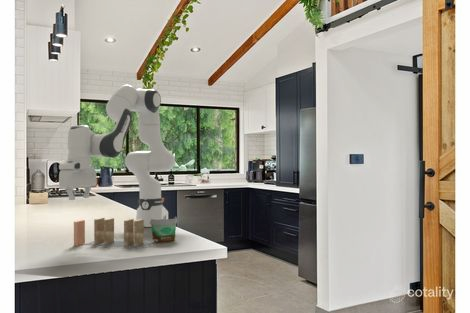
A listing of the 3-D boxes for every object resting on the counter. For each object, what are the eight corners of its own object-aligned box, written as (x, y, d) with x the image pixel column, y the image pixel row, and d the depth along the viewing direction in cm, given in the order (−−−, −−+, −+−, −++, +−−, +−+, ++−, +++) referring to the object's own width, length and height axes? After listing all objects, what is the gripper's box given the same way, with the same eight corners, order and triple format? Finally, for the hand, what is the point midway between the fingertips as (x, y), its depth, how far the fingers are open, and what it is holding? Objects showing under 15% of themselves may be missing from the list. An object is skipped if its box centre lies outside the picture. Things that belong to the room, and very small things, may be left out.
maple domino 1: (94, 243, 169) (94, 219, 169) (101, 241, 174) (101, 217, 174) (97, 244, 168) (97, 219, 168) (104, 241, 173) (104, 217, 173)
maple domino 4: (134, 246, 164) (134, 221, 164) (140, 243, 169) (140, 219, 169) (137, 246, 164) (137, 221, 164) (143, 243, 169) (143, 219, 169)
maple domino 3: (124, 245, 165) (123, 220, 165) (130, 242, 170) (130, 218, 170) (127, 245, 165) (127, 220, 165) (133, 243, 170) (133, 218, 170)
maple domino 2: (104, 244, 168) (104, 219, 168) (110, 241, 173) (110, 218, 173) (107, 244, 167) (107, 219, 167) (114, 242, 172) (114, 218, 172)
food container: (156, 245, 167) (156, 220, 167) (149, 243, 172) (149, 219, 172) (183, 241, 174) (183, 218, 174) (176, 239, 179) (176, 216, 179)
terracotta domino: (73, 246, 166) (73, 221, 166) (81, 244, 170) (81, 219, 170) (77, 246, 165) (77, 221, 165) (84, 244, 170) (84, 220, 170)
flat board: (97, 240, 177) (97, 239, 177) (153, 243, 170) (153, 242, 170) (83, 245, 167) (83, 244, 167) (142, 249, 161) (142, 248, 161)
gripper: (87, 164, 179) (87, 196, 178) (55, 165, 159) (55, 201, 159) (100, 164, 177) (100, 196, 177) (70, 165, 157) (70, 201, 157)
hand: (79, 198), depth 168 cm, fingers open, 8 cm apart
